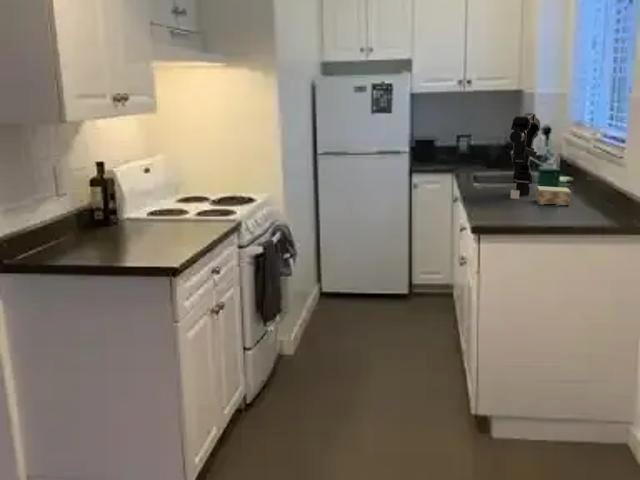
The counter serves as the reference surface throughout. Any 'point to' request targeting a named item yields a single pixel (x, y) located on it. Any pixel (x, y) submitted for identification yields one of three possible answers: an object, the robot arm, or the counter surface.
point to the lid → (553, 189)
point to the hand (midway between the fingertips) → (516, 174)
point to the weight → (514, 194)
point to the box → (552, 197)
